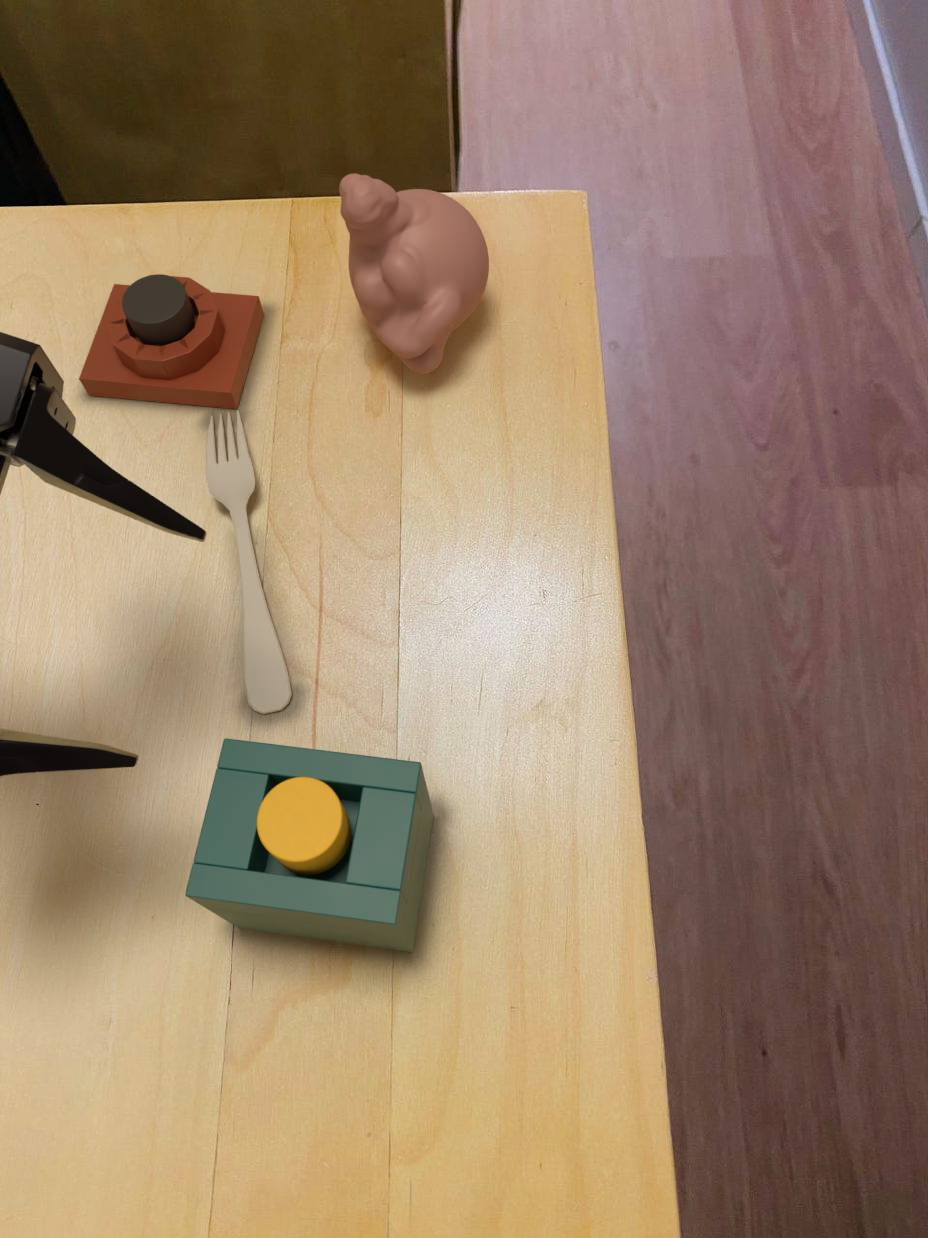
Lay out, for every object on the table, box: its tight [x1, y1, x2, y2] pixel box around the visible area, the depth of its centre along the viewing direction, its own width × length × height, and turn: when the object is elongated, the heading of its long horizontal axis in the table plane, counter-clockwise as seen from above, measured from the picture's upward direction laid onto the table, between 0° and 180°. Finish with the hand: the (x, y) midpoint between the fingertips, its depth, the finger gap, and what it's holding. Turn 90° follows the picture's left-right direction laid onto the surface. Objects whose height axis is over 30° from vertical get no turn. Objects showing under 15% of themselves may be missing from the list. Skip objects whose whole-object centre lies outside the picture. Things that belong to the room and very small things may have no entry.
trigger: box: [257, 777, 351, 875], centre depth 43 cm, size 4×4×3 cm
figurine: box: [338, 173, 490, 374], centre depth 61 cm, size 9×11×12 cm
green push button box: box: [184, 737, 435, 953], centre depth 47 cm, size 9×7×10 cm
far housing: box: [78, 275, 265, 410], centre depth 65 cm, size 10×8×4 cm
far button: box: [122, 273, 195, 346], centre depth 62 cm, size 4×4×2 cm
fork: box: [205, 409, 293, 715], centre depth 59 cm, size 3×21×3 cm, turn 13°
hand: (171, 647), depth 39 cm, fingers open, 9 cm apart
